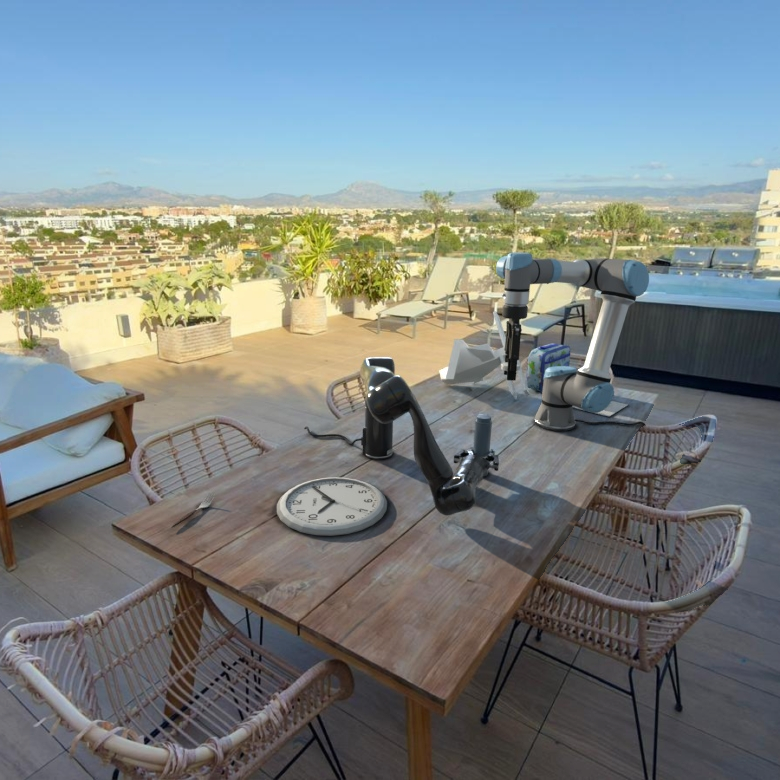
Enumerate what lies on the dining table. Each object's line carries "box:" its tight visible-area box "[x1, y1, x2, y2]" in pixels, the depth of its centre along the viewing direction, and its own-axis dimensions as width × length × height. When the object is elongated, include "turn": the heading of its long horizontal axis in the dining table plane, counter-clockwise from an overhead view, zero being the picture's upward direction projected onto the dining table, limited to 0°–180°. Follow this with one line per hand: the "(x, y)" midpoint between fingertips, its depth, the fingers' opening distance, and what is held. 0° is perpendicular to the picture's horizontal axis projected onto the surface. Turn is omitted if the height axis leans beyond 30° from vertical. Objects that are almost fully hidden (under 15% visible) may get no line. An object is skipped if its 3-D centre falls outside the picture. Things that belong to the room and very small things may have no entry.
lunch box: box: [525, 343, 571, 393], centre depth 249 cm, size 26×11×21 cm, turn 134°
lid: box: [500, 362, 521, 372], centre depth 166 cm, size 6×6×2 cm
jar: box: [472, 413, 493, 477], centre depth 160 cm, size 5×5×19 cm
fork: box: [171, 493, 217, 529], centre depth 137 cm, size 3×16×2 cm, turn 160°
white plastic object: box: [438, 310, 531, 400], centre depth 245 cm, size 37×45×31 cm
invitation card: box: [573, 400, 629, 418], centre depth 226 cm, size 21×1×15 cm
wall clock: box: [276, 476, 388, 537], centre depth 142 cm, size 30×2×30 cm
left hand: (482, 450), depth 164 cm, fingers closed on jar, 5 cm apart
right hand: (509, 377), depth 167 cm, fingers closed on lid, 6 cm apart
